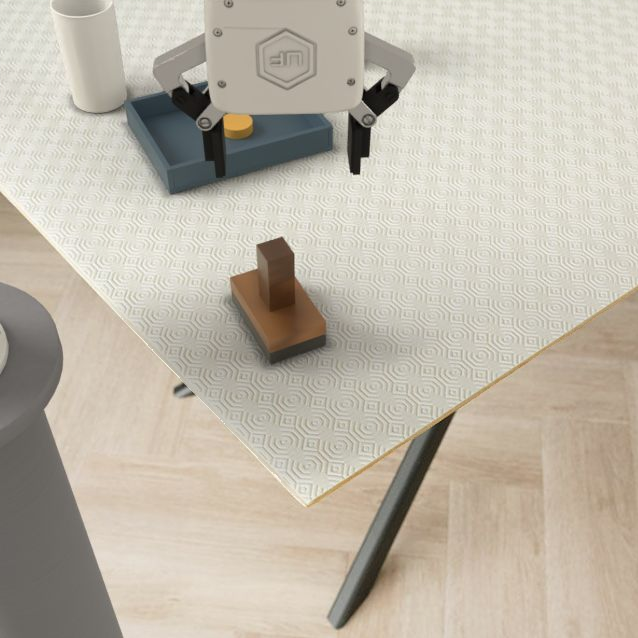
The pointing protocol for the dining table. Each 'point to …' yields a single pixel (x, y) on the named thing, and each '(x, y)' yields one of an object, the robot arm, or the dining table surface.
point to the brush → (277, 304)
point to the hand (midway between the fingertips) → (287, 165)
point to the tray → (241, 154)
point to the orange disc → (237, 126)
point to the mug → (91, 53)
